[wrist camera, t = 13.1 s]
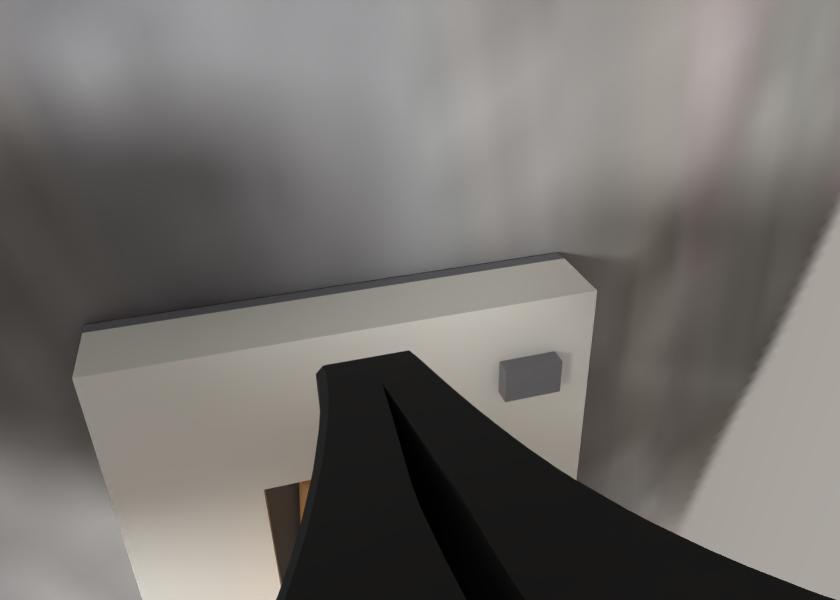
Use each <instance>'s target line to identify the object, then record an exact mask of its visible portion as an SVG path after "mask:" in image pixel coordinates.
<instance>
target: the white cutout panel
mask: <svg viewBox="0 0 840 600" xmlns="http://www.w3.org/2000/svg"><path fill="white" fill-rule="evenodd" d="M596 298H597V290H596V289H595V288H594V287H593V286H592V285H591V284H590V283H589V282H588V281H587V280H586V279H585V278H584V277H583V276H582V275H581V274H580V273H579V272H578V271H577V270H576V269H575V268H574V267H573V266H572V265H571V264H570V263H569V262H568V261H567V260H566V259H565V258H564V257H563V256H561V255H560V254H559V253H552V254H545V255H539V256H532V257H525V258H519V259H512V260H506V261H499V262H493V263H486V264H480V265H473V266H467V267H460V268H453V269H447V270H440V271H434V272H427V273H421V274H414V275H408V276H401V277H394V278H388V279H381V280H375V281H368V282H362V283H355V284H349V285H342V286H336V287H329V288H322V289H316V290H309V291H303V292H296V293H290V294H283V295H277V296H270V297H263V298H257V299H250V300H244V301H237V302H231V303H224V304H218V305H211V306H205V307H198V308H191V309H185V310H178V311H172V312H165V313H159V314H152V315H146V316H139V317H132V318H126V319H119V320H113V321H106V322H100V323H93V324H87V325H84V327H83V331H82V336H81V341H80V345H79V350H78V354H77V359H76V363H75V368H74V372H73V377H72V380H73V383H74V386H75V389H76V392H77V395H78V399H79V402H80V405H81V408H82V411H83V414H84V417H85V421H86V424H87V427H88V430H89V433H90V436H91V439H92V443H93V446H94V449H95V452H96V455H97V458H98V461H99V465H100V468H101V471H102V474H103V477H104V480H105V483H106V487H107V490H108V493H109V496H110V499H111V502H112V505H113V509H114V512H115V515H116V518H117V521H118V524H119V527H120V531H121V534H122V537H123V540H124V543H125V546H126V549H127V553H128V556H129V559H130V562H131V565H132V568H133V571H134V575H135V578H136V581H137V584H138V587H139V590H140V594H141V597H142V600H276V599H277V596H278V593H279V591H280V588H281V585H282V582H283V579H284V576H285V573H286V570H287V567H288V564H289V561H290V558H291V555H292V552H293V548H294V545H295V542H296V538H297V535H298V531H299V528H300V503H299V482H303V481H308V480H311V477H312V472H313V467H314V460H315V453H316V446H317V438H318V431H319V418H320V407H319V399H318V390H317V381H316V373H317V372H318V371H319V370H320V368H321V367H322V366H323V365H328V364H334V363H340V362H345V361H351V360H357V359H362V358H368V357H374V356H380V355H385V354H391V353H397V352H402V351H408V350H409V351H411V352H412V353H413V354H414V355H416V356H417V357H418V358H419V359H420V360H422V361H423V362H424V363H425V364H426V365H427V366H428V367H429V368H430V369H432V370H433V371H434V372H435V373H436V374H437V375H438V376H439V377H441V378H442V379H443V380H444V381H445V382H446V383H447V384H449V385H450V386H451V387H452V388H453V389H454V390H456V391H457V392H458V393H459V394H460V395H461V396H463V397H464V398H465V399H466V400H467V401H468V402H470V403H471V404H472V405H473V406H475V407H476V408H477V409H478V410H479V411H481V412H482V413H483V414H484V415H486V416H487V417H488V418H490V419H491V420H492V421H493V422H495V423H496V424H497V425H498V426H500V427H501V428H502V429H504V430H505V431H506V432H507V433H509V434H510V435H511V436H513V437H514V438H515V439H517V440H518V441H519V442H521V443H522V444H523V445H525V446H526V447H528V448H529V449H530V450H532V451H533V452H535V453H536V454H537V455H539V456H540V457H542V458H543V459H545V460H546V461H548V462H549V463H551V464H552V465H553V466H555V467H556V468H558V469H559V470H561V471H562V472H564V473H566V474H567V475H569V476H570V477H572V478H574V479H575V480H576V479H577V470H578V461H579V452H580V443H581V434H582V425H583V416H584V407H585V398H586V389H587V379H588V370H589V361H590V352H591V343H592V334H593V325H594V316H595V307H596Z"/></svg>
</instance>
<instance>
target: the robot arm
mask: <svg viewBox="0 0 840 600" xmlns="http://www.w3.org/2000/svg"><path fill="white" fill-rule="evenodd" d="M316 381H317V390H318V399H319V407H320V418H319V431H318V438H317V446H316V453H315V460H314V467H313V472H312V477H311V481H310V486H309V490H308V494H307V499H306V503H305V507H304V512H303V516H302V520H301V524H300V528H299V531H298V535H297V538H296V542H295V545H294V548H293V552H292V555H291V558H290V561H289V564H288V567H287V570H286V573H285V576H284V579H283V582H282V585H281V588H280V591H279V593H278V596H277V599H276V600H835V599H832V598H829V597H826V596H823V595H820V594H817V593H815V592H812V591H809V590H806V589H804V588H801V587H799V586H796V585H794V584H791V583H788V582H786V581H783V580H781V579H778V578H776V577H773V576H771V575H768V574H766V573H763V572H760V571H758V570H755V569H753V568H750V567H747V566H745V565H743V564H741V563H738V562H736V561H733V560H731V559H729V558H727V557H724V556H722V555H720V554H717V553H715V552H713V551H710V550H708V549H706V548H704V547H702V546H700V545H698V544H696V543H693V542H691V541H689V540H687V539H685V538H683V537H681V536H679V535H677V534H675V533H673V532H670V531H668V530H666V529H664V528H662V527H660V526H658V525H656V524H654V523H652V522H650V521H648V520H646V519H644V518H642V517H640V516H638V515H636V514H635V513H633V512H631V511H629V510H627V509H625V508H623V507H622V506H620V505H618V504H616V503H615V502H613V501H611V500H609V499H608V498H606V497H604V496H603V495H601V494H599V493H597V492H596V491H594V490H592V489H590V488H589V487H587V486H585V485H583V484H582V483H580V482H578V481H577V480H575V479H574V478H572V477H570V476H569V475H567V474H566V473H564V472H562V471H561V470H559V469H558V468H556V467H555V466H553V465H552V464H551V463H549V462H548V461H546V460H545V459H543V458H542V457H540V456H539V455H537V454H536V453H535V452H533V451H532V450H530V449H529V448H528V447H526V446H525V445H523V444H522V443H521V442H519V441H518V440H517V439H515V438H514V437H513V436H511V435H510V434H509V433H507V432H506V431H505V430H504V429H502V428H501V427H500V426H498V425H497V424H496V423H495V422H493V421H492V420H491V419H490V418H488V417H487V416H486V415H484V414H483V413H482V412H481V411H479V410H478V409H477V408H476V407H475V406H473V405H472V404H471V403H470V402H468V401H467V400H466V399H465V398H464V397H463V396H461V395H460V394H459V393H458V392H457V391H456V390H454V389H453V388H452V387H451V386H450V385H449V384H447V383H446V382H445V381H444V380H443V379H442V378H441V377H439V376H438V375H437V374H436V373H435V372H434V371H433V370H432V369H430V368H429V367H428V366H427V365H426V364H425V363H424V362H423V361H422V360H420V359H419V358H418V357H417V356H416V355H414V354H413V353H412V352H411V351H409V350H408V351H402V352H397V353H391V354H385V355H380V356H374V357H368V358H362V359H357V360H351V361H345V362H340V363H334V364H328V365H323V366H322V367H321V368H320V370H319V371H318V372H317V373H316Z"/></svg>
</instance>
